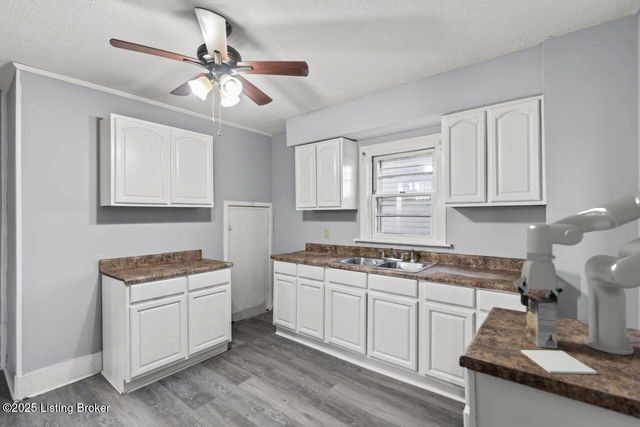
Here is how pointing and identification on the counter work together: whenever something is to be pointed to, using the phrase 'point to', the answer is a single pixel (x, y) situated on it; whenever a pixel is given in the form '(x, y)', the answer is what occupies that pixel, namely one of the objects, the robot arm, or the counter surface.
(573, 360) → the mat
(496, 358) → the counter surface
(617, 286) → the robot arm
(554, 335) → the coffee box
